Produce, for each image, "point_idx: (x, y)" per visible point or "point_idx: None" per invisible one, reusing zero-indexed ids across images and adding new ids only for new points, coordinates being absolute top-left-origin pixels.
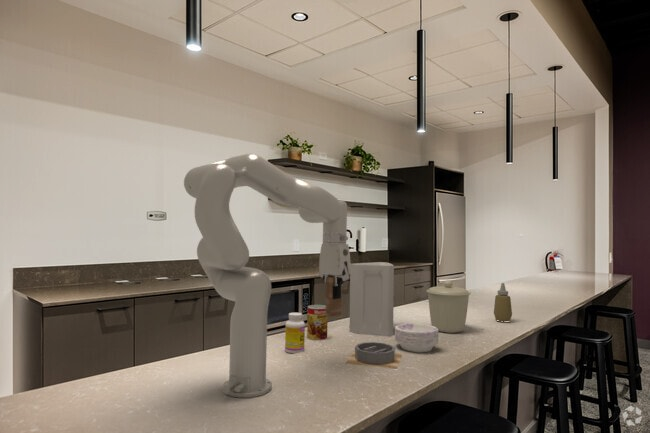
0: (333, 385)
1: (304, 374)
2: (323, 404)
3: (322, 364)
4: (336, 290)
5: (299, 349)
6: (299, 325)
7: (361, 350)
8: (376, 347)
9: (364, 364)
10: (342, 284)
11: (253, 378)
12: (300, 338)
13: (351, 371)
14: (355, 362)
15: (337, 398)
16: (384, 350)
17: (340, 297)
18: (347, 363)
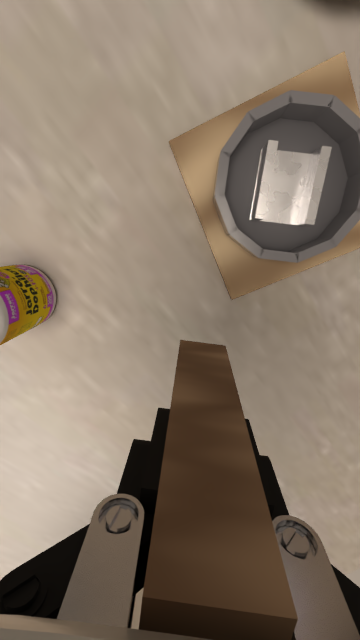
0: (290, 428)
1: None
2: (327, 505)
3: (176, 334)
4: None
5: (51, 306)
6: (1, 330)
7: (271, 255)
8: (276, 143)
9: (284, 270)
10: (316, 538)
11: None
12: (33, 311)
13: (273, 328)
14: (251, 272)
15: (335, 473)
16: (326, 166)
17: (247, 422)
18: (237, 296)
